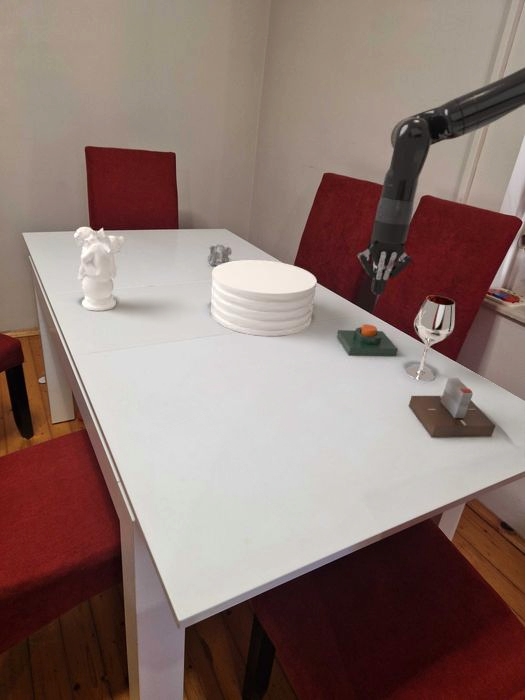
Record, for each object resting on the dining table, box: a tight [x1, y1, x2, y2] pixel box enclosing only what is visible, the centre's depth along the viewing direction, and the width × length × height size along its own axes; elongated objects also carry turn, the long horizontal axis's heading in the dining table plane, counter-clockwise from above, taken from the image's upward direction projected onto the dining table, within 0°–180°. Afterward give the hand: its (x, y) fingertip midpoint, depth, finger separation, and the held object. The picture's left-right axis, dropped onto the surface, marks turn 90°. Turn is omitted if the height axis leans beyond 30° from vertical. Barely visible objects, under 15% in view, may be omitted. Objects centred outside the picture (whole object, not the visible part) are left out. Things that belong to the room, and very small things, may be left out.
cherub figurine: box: [73, 226, 126, 312], centre depth 118 cm, size 12×12×22 cm
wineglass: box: [405, 294, 456, 382], centre depth 99 cm, size 8×8×18 cm
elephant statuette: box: [207, 244, 233, 266], centre depth 162 cm, size 9×12×8 cm
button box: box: [336, 326, 398, 357], centre depth 112 cm, size 12×10×4 cm
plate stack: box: [210, 259, 318, 337], centre depth 124 cm, size 28×28×12 cm
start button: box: [361, 323, 378, 336], centre depth 111 cm, size 4×4×2 cm
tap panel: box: [408, 395, 497, 438], centre depth 87 cm, size 12×10×3 cm
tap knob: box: [441, 377, 474, 418], centre depth 85 cm, size 6×2×6 cm, turn 7°
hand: (376, 293), depth 107 cm, fingers closed
